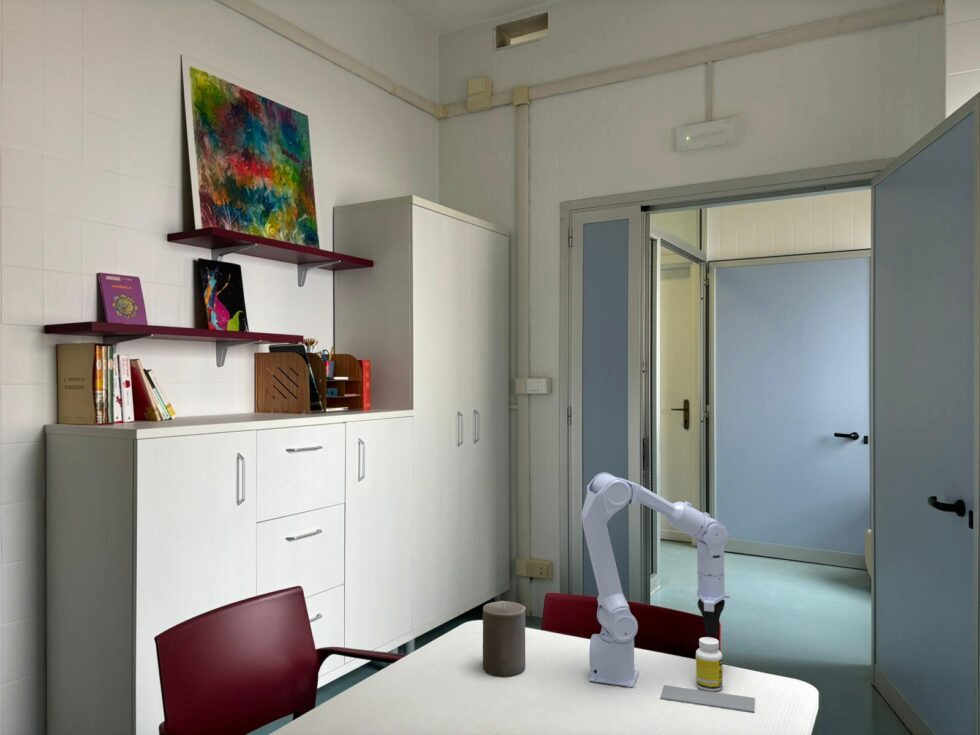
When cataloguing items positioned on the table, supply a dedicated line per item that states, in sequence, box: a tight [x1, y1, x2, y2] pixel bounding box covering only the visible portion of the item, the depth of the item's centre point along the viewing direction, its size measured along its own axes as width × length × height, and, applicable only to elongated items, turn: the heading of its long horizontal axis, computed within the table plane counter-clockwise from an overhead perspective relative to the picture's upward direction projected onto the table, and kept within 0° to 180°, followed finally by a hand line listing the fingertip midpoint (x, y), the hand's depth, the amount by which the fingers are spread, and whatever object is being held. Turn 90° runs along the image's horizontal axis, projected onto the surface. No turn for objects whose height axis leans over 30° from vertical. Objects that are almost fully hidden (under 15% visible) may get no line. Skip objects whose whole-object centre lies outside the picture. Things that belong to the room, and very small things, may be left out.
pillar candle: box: [482, 600, 527, 678], centre depth 163 cm, size 10×10×15 cm
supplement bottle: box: [695, 636, 724, 692], centre depth 152 cm, size 5×5×10 cm
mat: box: [659, 684, 756, 713], centre depth 146 cm, size 18×6×1 cm, turn 69°
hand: (711, 633), depth 160 cm, fingers closed
